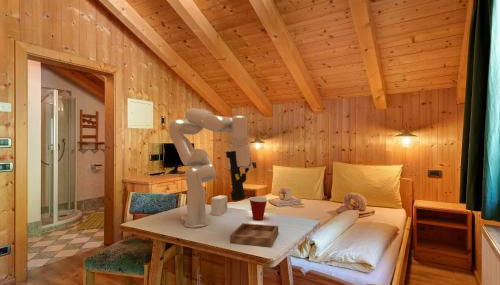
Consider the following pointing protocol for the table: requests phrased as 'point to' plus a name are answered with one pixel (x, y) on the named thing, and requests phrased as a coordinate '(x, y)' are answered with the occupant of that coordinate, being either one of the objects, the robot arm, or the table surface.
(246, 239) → the wooden tray
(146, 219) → the table surface
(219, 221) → the table surface
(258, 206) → the plastic cup
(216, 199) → the skincare box
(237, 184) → the portable radio
